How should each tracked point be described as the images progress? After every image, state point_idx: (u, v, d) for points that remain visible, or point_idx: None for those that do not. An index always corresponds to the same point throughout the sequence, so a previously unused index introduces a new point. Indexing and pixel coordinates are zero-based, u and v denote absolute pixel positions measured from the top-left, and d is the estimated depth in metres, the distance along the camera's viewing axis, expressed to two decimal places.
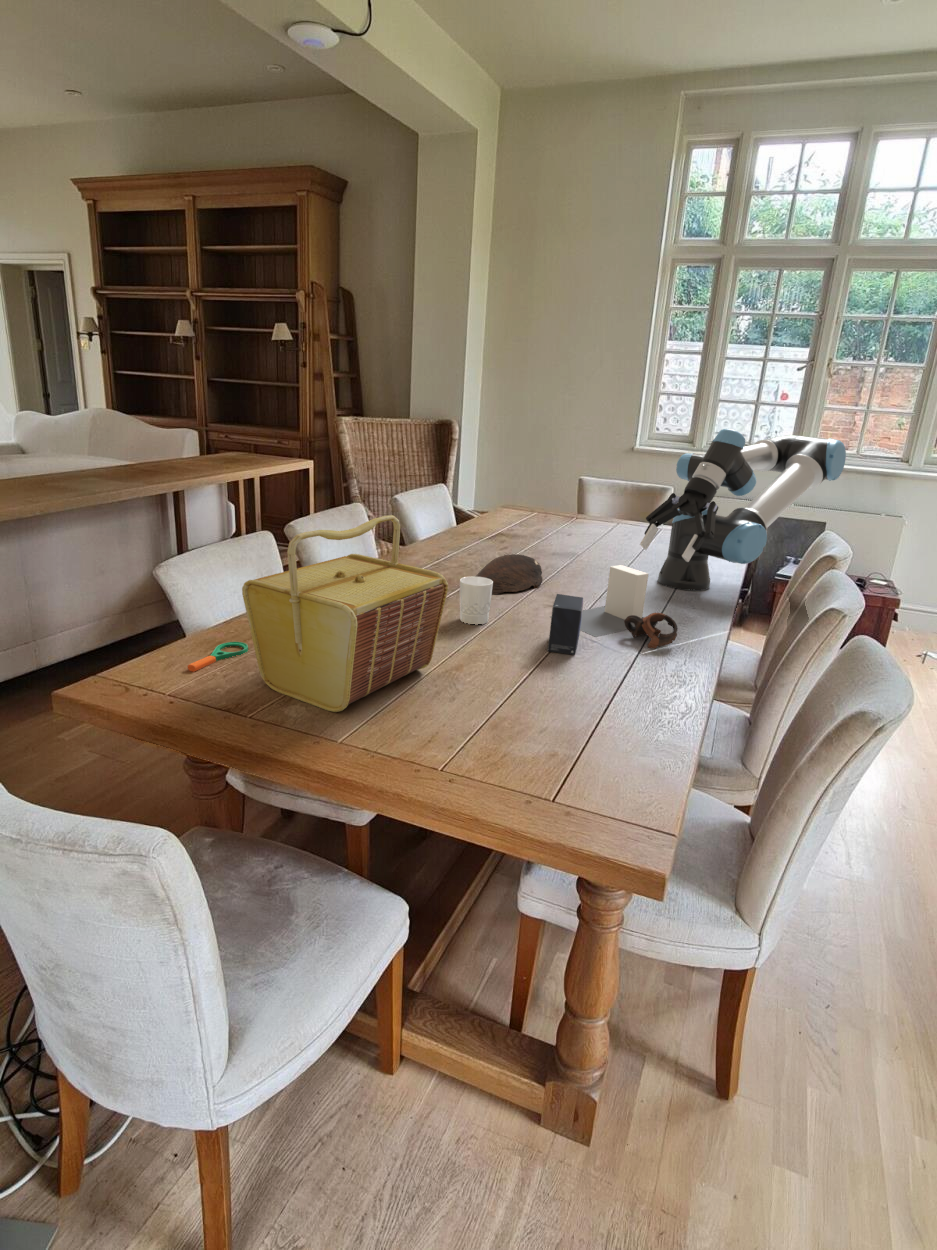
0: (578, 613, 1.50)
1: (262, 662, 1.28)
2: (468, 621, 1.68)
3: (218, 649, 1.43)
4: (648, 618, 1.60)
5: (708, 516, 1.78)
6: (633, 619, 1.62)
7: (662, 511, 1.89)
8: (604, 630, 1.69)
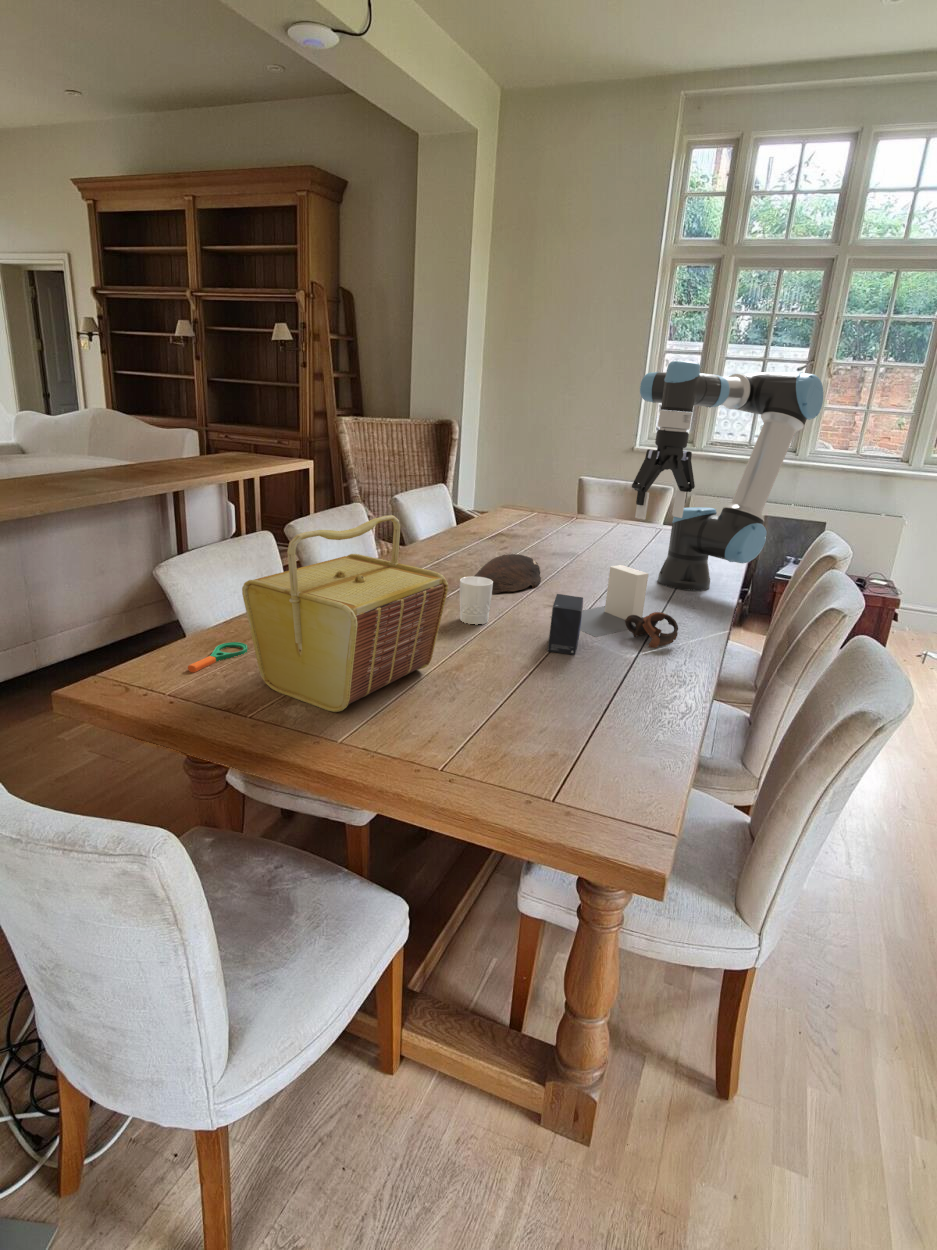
0: (578, 613, 1.50)
1: (262, 662, 1.28)
2: (468, 621, 1.68)
3: (218, 649, 1.43)
4: (649, 618, 1.60)
5: (690, 469, 1.76)
6: (634, 619, 1.62)
7: None
8: (604, 630, 1.69)
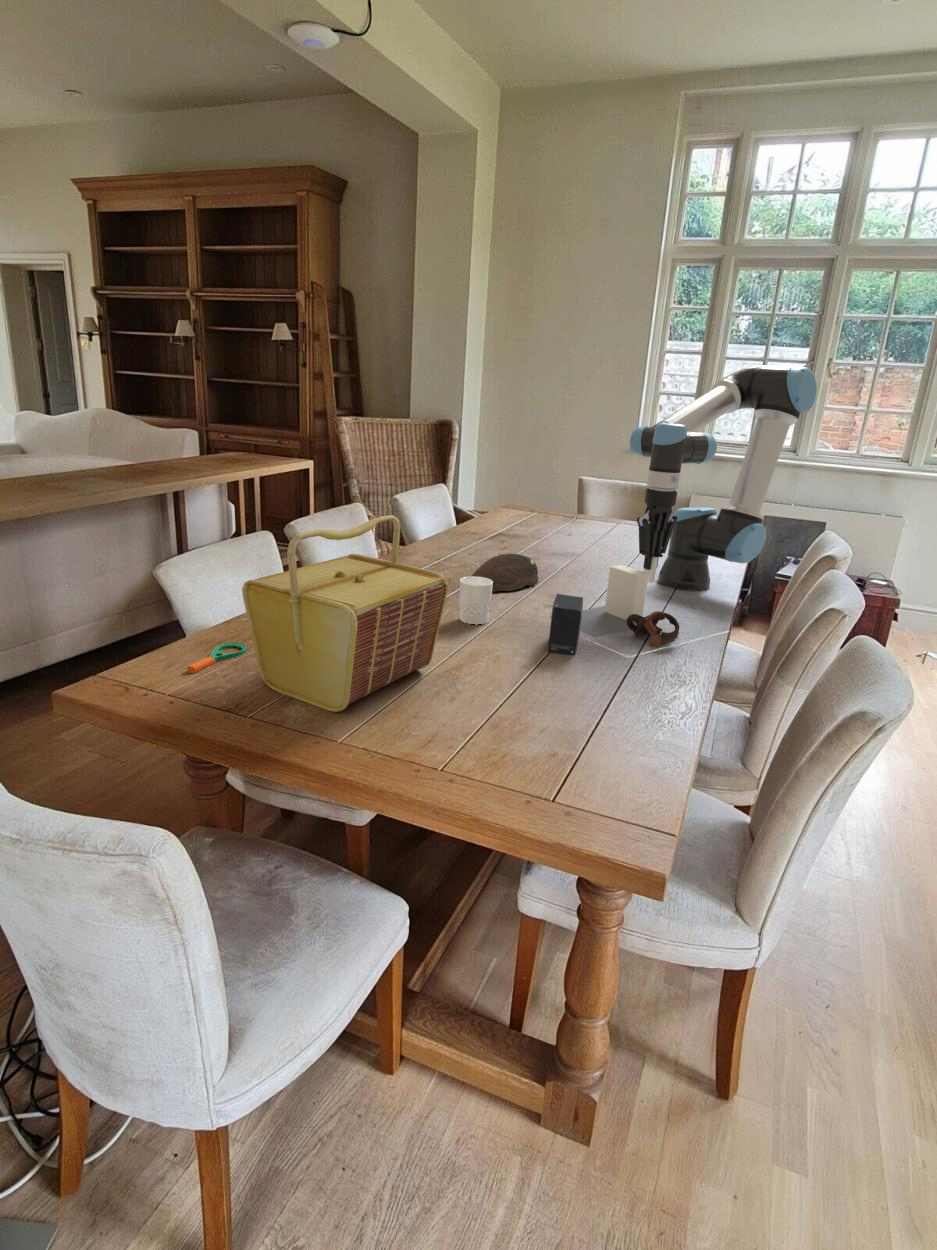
0: (578, 613, 1.50)
1: (262, 662, 1.28)
2: (468, 621, 1.68)
3: (217, 650, 1.43)
4: (650, 617, 1.61)
5: (669, 532, 1.79)
6: (635, 618, 1.63)
7: None
8: (604, 630, 1.69)
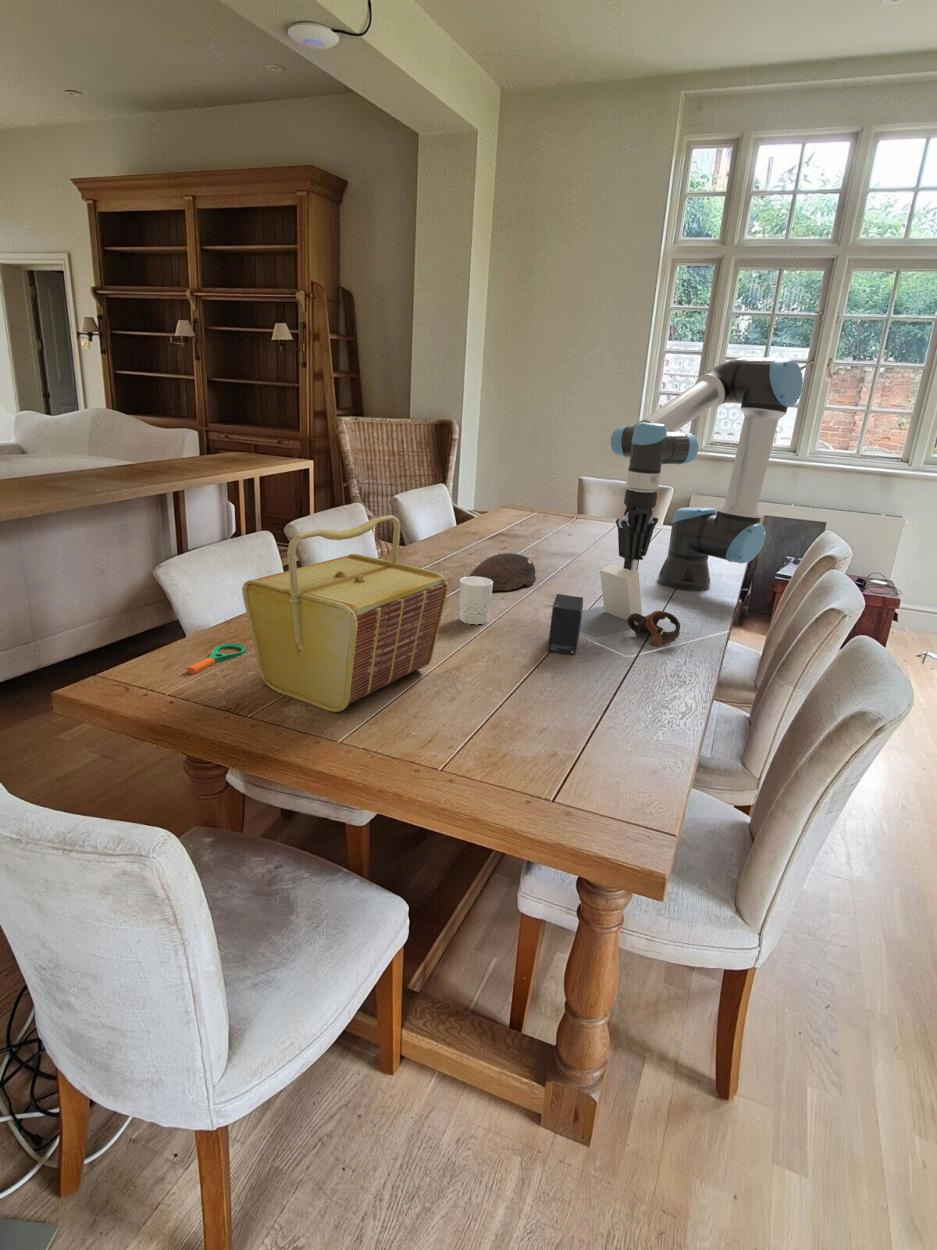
0: (578, 613, 1.50)
1: (262, 662, 1.28)
2: (468, 621, 1.68)
3: (216, 651, 1.42)
4: (651, 616, 1.61)
5: (649, 534, 1.75)
6: (636, 617, 1.63)
7: None
8: (604, 630, 1.69)
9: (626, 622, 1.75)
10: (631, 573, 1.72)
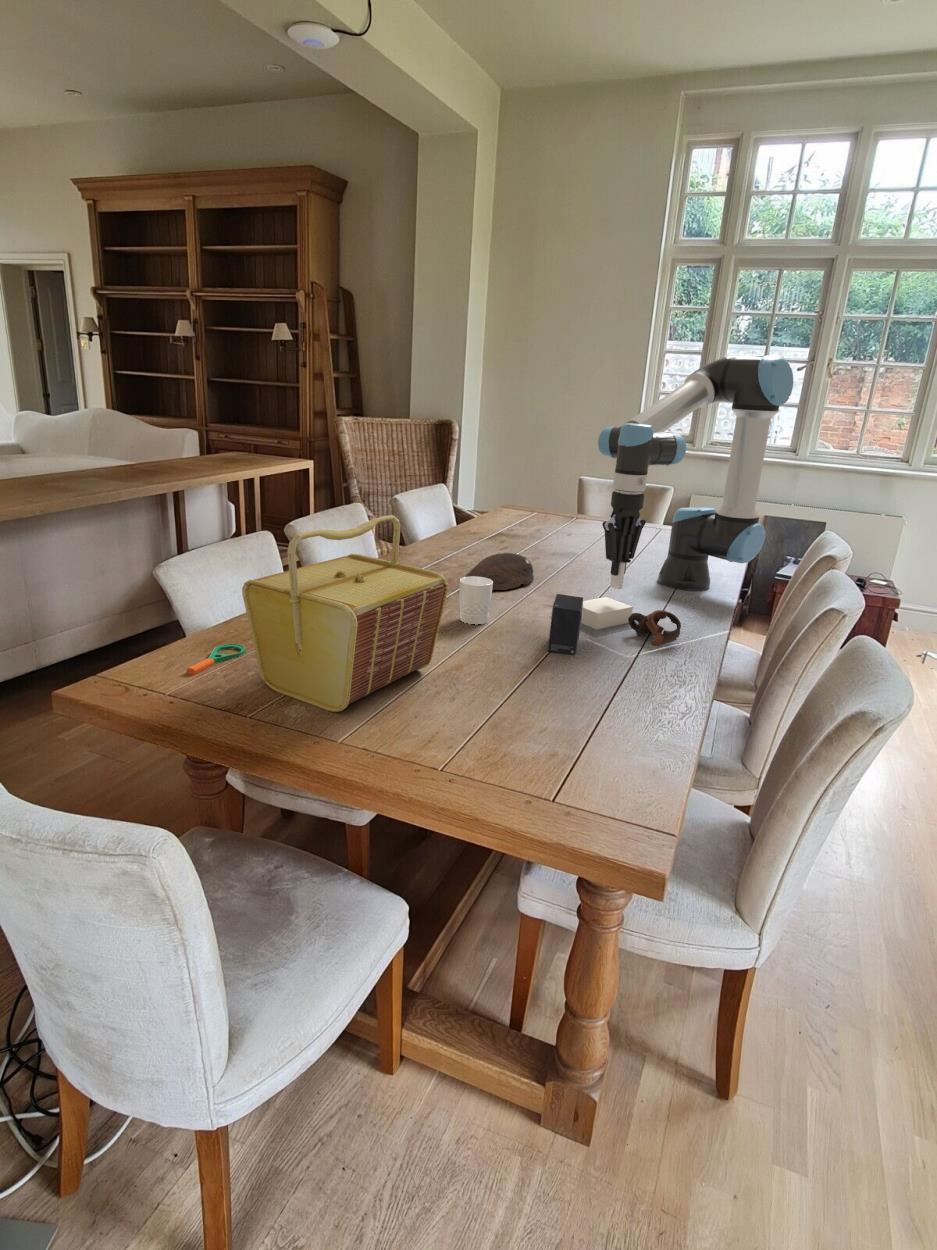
0: (578, 613, 1.50)
1: (262, 662, 1.28)
2: (468, 621, 1.68)
3: (215, 651, 1.42)
4: (652, 616, 1.62)
5: (637, 537, 1.73)
6: (637, 617, 1.64)
7: None
8: (604, 630, 1.69)
9: None
10: (594, 617, 1.69)
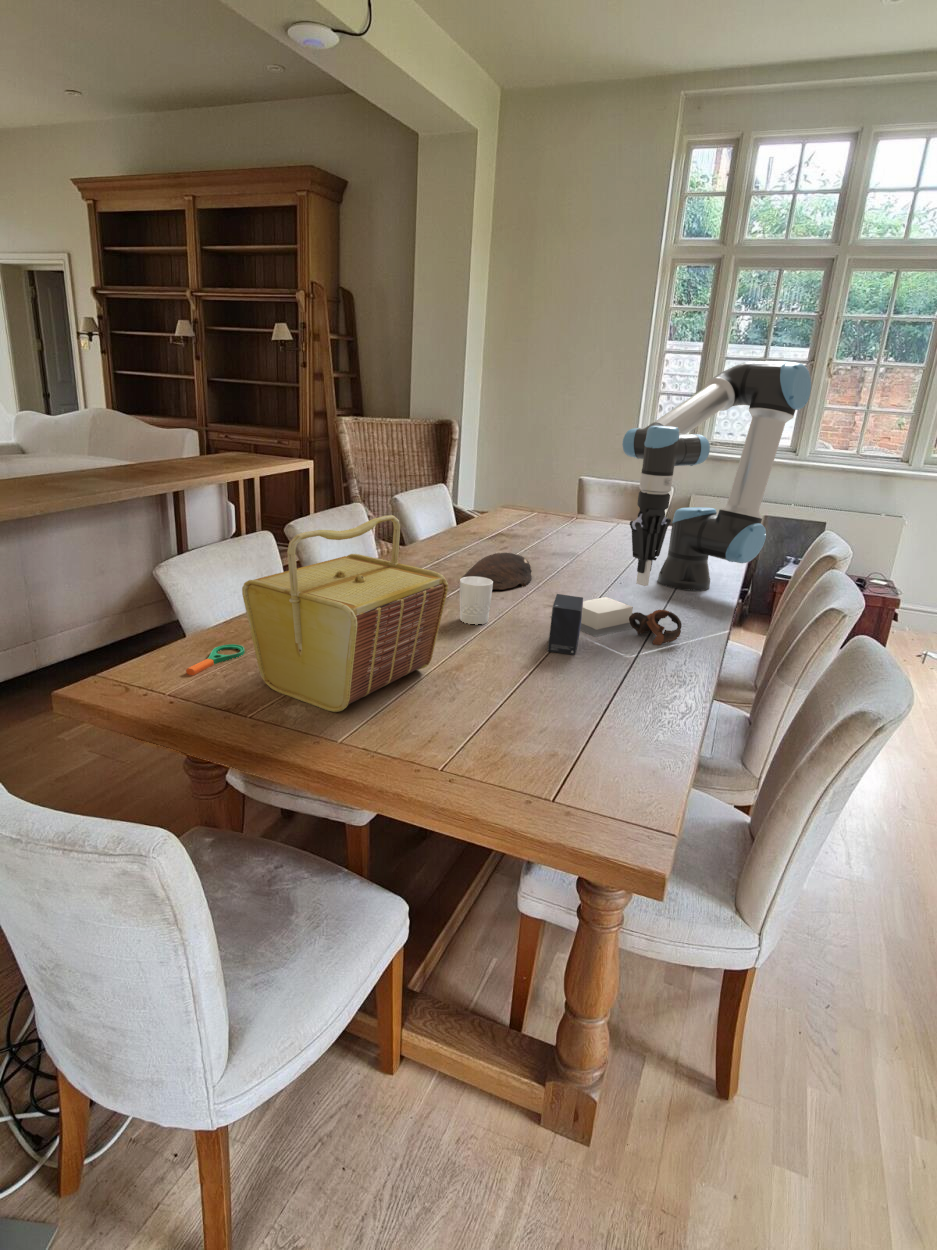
0: (578, 613, 1.50)
1: (262, 662, 1.28)
2: (468, 621, 1.68)
3: (215, 652, 1.42)
4: (653, 615, 1.62)
5: (663, 535, 1.78)
6: (638, 616, 1.64)
7: None
8: (604, 630, 1.69)
9: None
10: (594, 617, 1.69)
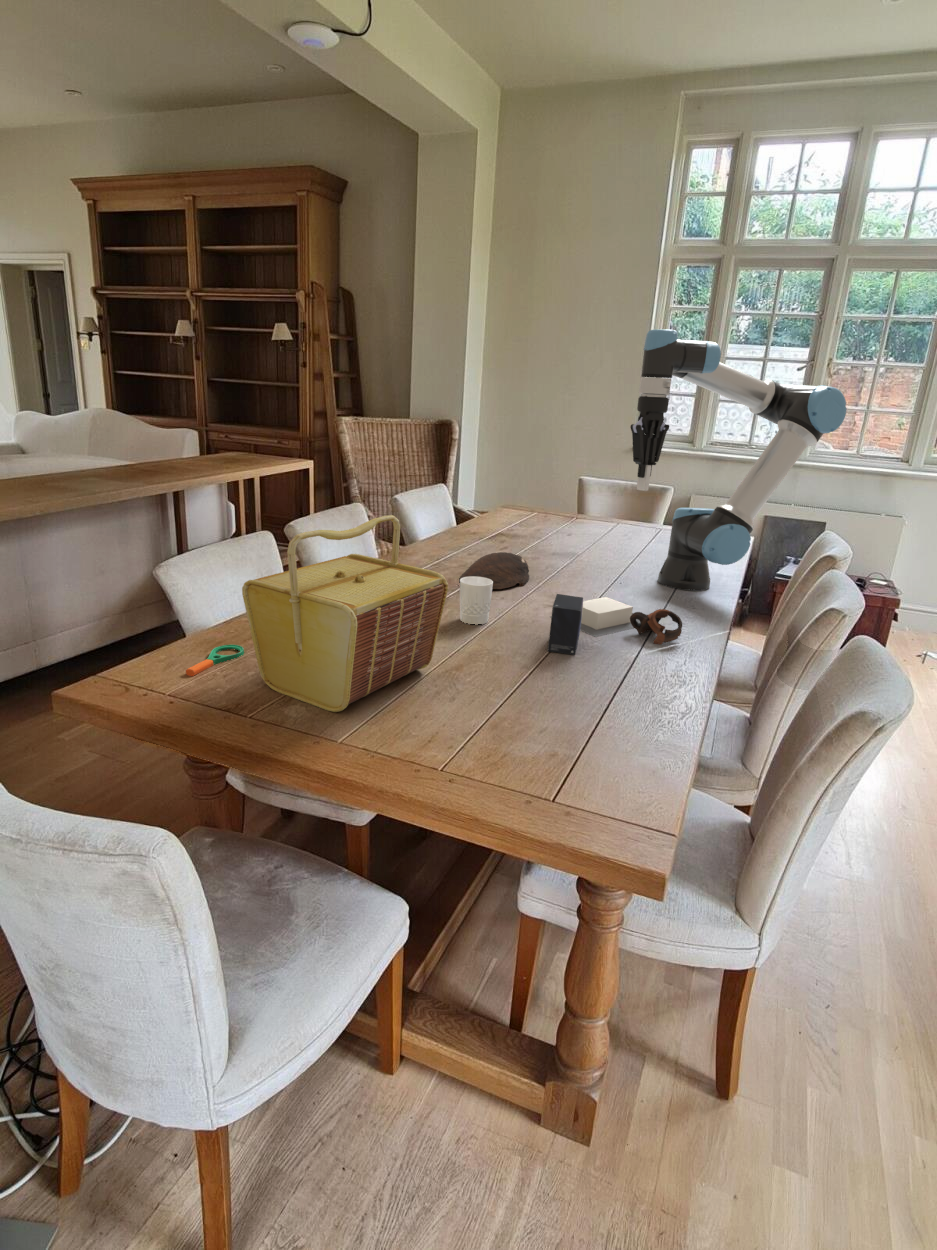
0: (578, 613, 1.50)
1: (262, 662, 1.28)
2: (468, 621, 1.68)
3: (214, 652, 1.41)
4: (653, 615, 1.63)
5: (661, 441, 1.84)
6: (639, 616, 1.64)
7: None
8: (604, 630, 1.69)
9: None
10: (594, 617, 1.69)
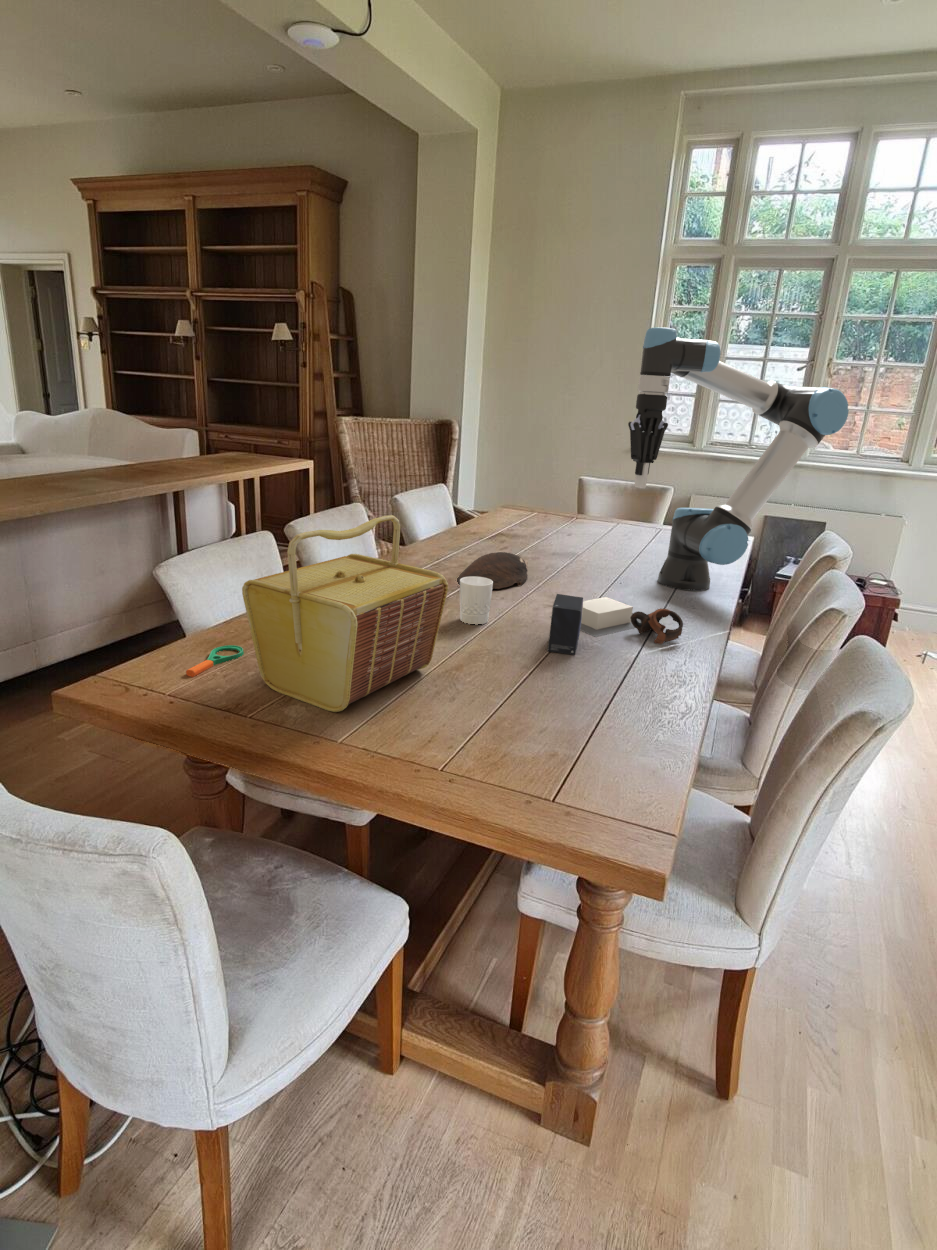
0: (578, 613, 1.50)
1: (262, 662, 1.28)
2: (468, 621, 1.68)
3: (213, 653, 1.41)
4: (654, 614, 1.63)
5: (660, 439, 1.85)
6: (639, 615, 1.65)
7: None
8: (604, 630, 1.69)
9: None
10: (594, 617, 1.69)
